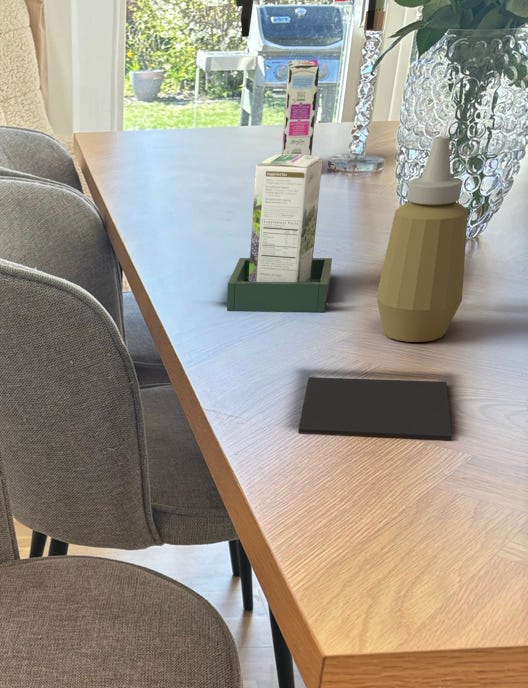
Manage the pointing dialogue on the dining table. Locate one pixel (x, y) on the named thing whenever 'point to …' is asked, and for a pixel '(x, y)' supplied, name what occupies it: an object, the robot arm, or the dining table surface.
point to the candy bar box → (300, 107)
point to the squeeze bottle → (425, 255)
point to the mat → (376, 408)
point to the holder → (279, 290)
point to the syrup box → (284, 218)
